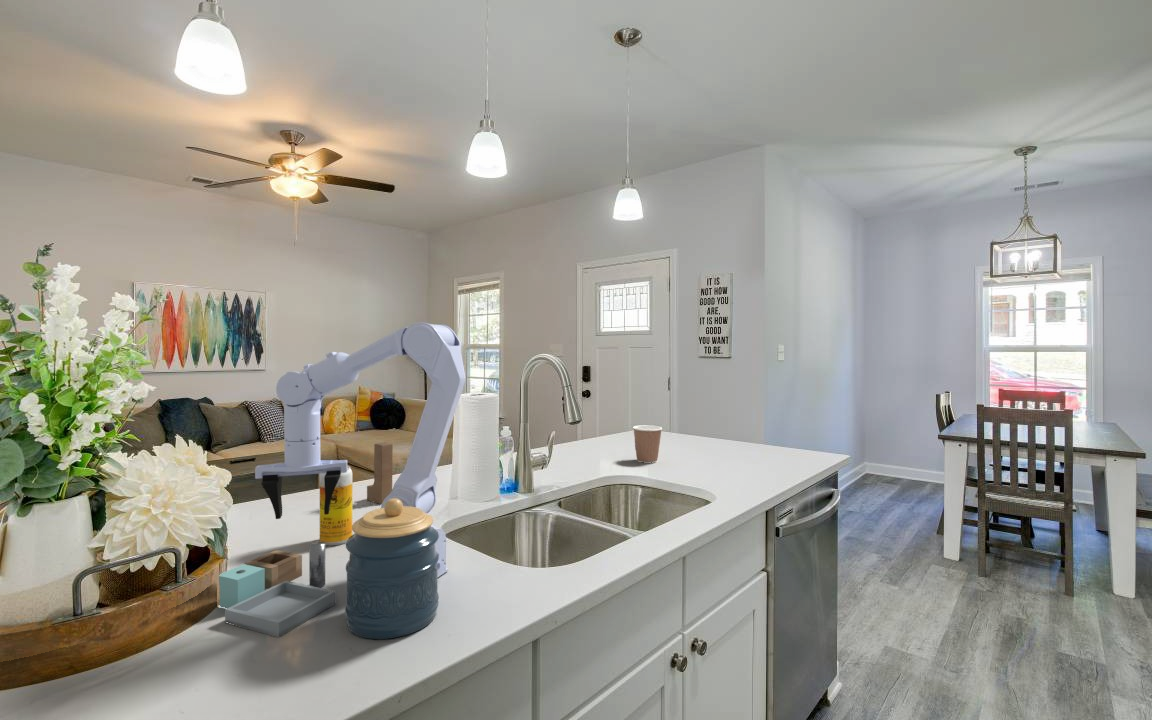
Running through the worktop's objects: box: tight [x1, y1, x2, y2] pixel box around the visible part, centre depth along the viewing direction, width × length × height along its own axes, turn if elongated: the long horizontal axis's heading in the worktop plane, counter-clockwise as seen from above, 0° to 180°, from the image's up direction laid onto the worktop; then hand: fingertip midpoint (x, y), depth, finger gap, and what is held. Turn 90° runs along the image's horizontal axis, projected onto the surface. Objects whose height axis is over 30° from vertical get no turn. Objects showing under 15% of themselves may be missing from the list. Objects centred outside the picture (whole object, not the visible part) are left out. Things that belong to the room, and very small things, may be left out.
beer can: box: [319, 465, 353, 546], centre depth 109 cm, size 6×6×15 cm
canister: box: [344, 498, 439, 640], centre depth 79 cm, size 13×13×18 cm
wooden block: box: [366, 441, 394, 505], centre depth 138 cm, size 7×3×15 cm, turn 53°
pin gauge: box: [308, 540, 326, 588], centre depth 89 cm, size 2×2×7 cm
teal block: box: [219, 563, 266, 608], centre depth 83 cm, size 4×4×5 cm
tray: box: [224, 581, 337, 638], centre depth 80 cm, size 10×10×2 cm
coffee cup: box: [632, 424, 663, 464], centre depth 190 cm, size 10×10×12 cm
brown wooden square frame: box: [244, 549, 303, 590], centre depth 91 cm, size 6×6×4 cm
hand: (303, 515), depth 96 cm, fingers open, 7 cm apart
